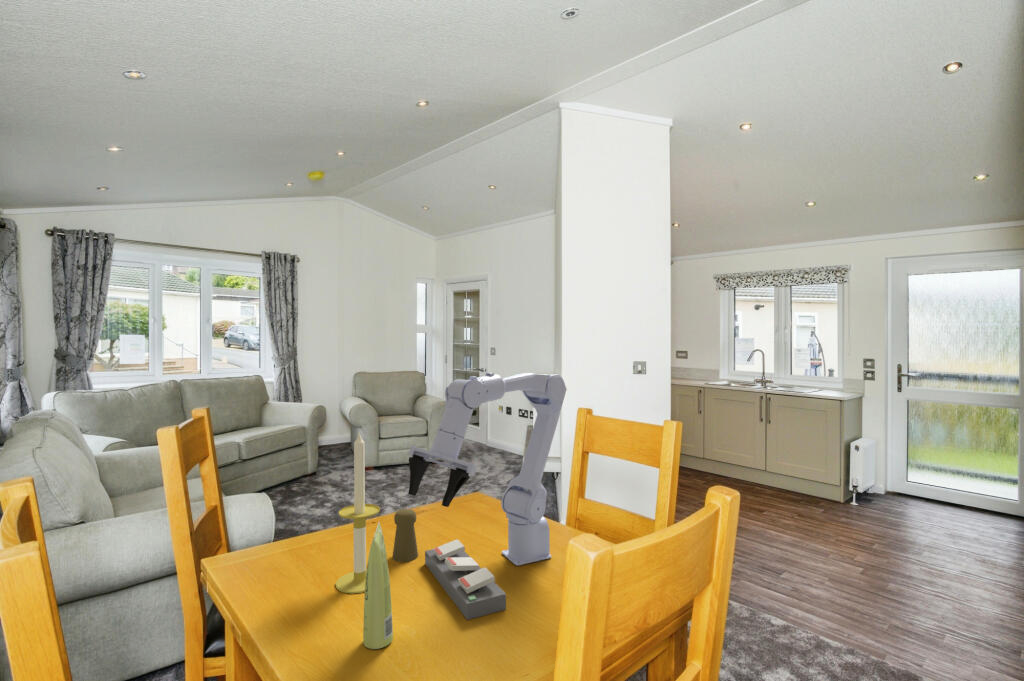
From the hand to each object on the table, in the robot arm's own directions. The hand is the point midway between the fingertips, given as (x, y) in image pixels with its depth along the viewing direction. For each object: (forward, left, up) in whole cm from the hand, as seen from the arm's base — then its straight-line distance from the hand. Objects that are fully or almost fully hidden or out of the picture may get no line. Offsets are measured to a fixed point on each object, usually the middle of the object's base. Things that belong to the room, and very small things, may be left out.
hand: (428, 500), depth 101 cm
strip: (-8, -3, -20) cm, 22 cm away
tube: (+12, +9, -20) cm, 25 cm away
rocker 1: (-8, -11, -15) cm, 20 cm away
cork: (-1, -22, -20) cm, 30 cm away
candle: (+11, -14, -20) cm, 27 cm away
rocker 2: (-8, -3, -15) cm, 18 cm away
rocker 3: (-8, +5, -15) cm, 18 cm away
